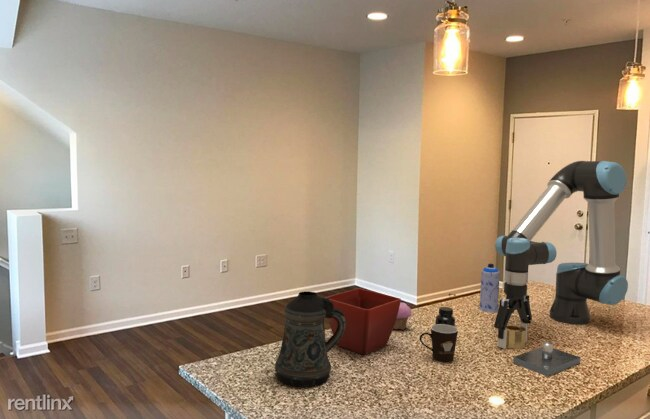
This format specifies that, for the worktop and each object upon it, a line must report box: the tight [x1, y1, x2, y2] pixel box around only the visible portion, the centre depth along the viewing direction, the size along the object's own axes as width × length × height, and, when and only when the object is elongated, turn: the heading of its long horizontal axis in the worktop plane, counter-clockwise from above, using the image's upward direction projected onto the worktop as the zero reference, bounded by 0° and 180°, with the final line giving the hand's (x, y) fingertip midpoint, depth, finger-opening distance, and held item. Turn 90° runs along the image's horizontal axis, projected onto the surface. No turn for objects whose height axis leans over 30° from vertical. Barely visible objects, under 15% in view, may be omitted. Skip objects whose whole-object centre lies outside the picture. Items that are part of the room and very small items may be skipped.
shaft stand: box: [512, 341, 581, 377], centre depth 162 cm, size 18×12×6 cm, turn 125°
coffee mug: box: [419, 324, 459, 363], centre depth 165 cm, size 12×9×10 cm
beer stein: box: [274, 291, 346, 389], centre depth 150 cm, size 16×19×25 cm
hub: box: [505, 323, 526, 350], centre depth 178 cm, size 8×8×6 cm
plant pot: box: [324, 288, 402, 355], centre depth 174 cm, size 19×19×17 cm
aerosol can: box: [478, 263, 501, 313], centre depth 219 cm, size 8×8×20 cm
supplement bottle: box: [434, 306, 456, 327], centre depth 180 cm, size 7×7×12 cm
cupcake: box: [393, 302, 412, 331], centre depth 193 cm, size 9×9×10 cm
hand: (512, 344), depth 178 cm, fingers open, 11 cm apart
